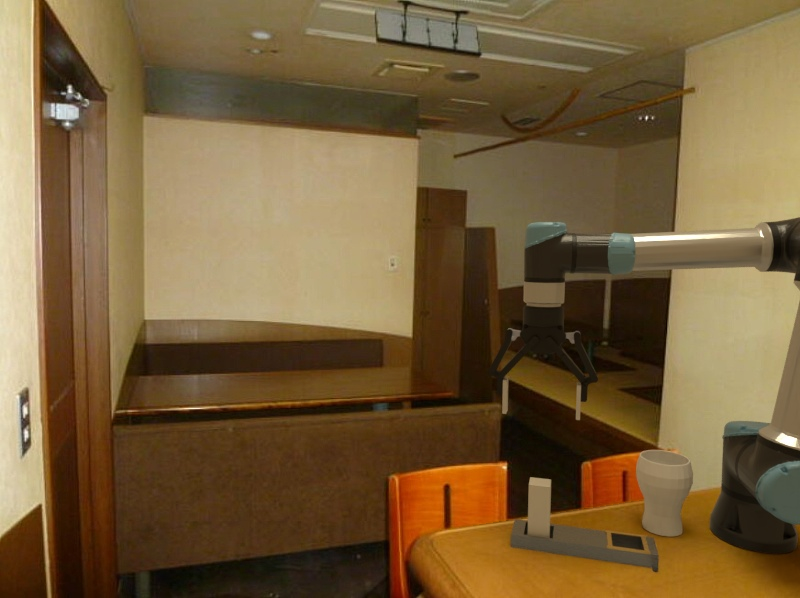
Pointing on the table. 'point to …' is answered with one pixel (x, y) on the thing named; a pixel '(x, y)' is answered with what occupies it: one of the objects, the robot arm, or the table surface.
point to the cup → (663, 489)
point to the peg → (539, 507)
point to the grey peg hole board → (589, 544)
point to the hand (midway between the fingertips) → (540, 415)
